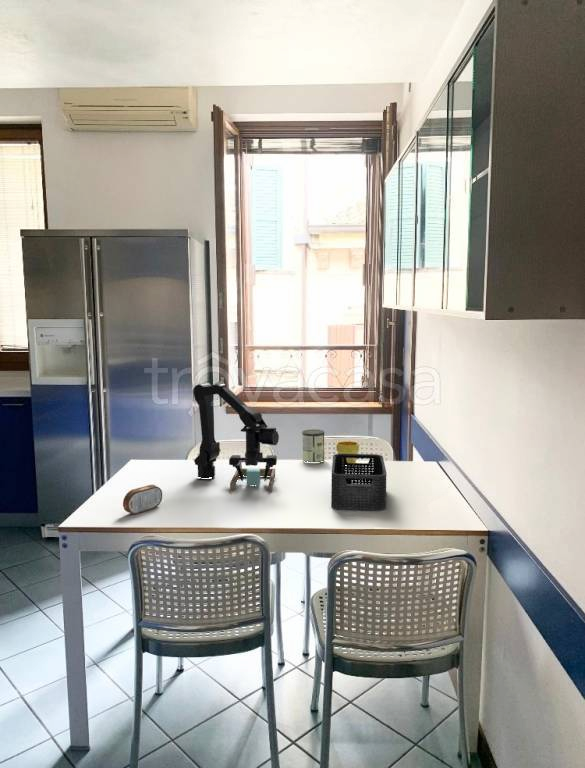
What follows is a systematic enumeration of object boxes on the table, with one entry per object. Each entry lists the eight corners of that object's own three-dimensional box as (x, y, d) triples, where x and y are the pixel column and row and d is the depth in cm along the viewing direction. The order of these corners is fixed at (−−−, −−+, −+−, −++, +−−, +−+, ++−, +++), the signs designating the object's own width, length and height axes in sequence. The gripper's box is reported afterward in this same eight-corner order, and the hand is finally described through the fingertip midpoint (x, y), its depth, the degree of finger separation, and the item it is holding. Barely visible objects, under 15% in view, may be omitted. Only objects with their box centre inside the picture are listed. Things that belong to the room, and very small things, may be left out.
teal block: (246, 486, 226) (246, 471, 225) (248, 482, 231) (247, 468, 230) (259, 486, 226) (259, 471, 225) (260, 482, 231) (260, 468, 230)
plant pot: (331, 464, 258) (331, 443, 257) (344, 460, 266) (344, 439, 265) (350, 468, 251) (350, 446, 250) (363, 463, 259) (363, 442, 258)
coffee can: (309, 457, 271) (309, 428, 270) (328, 460, 266) (328, 430, 264) (298, 462, 263) (298, 432, 261) (317, 465, 257) (317, 434, 256)
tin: (158, 504, 205) (158, 481, 204) (164, 506, 203) (163, 483, 202) (122, 515, 193) (121, 491, 192) (128, 517, 191) (127, 493, 190)
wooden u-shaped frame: (230, 491, 219) (230, 482, 218) (237, 476, 240) (237, 468, 239) (271, 492, 218) (271, 483, 218) (275, 476, 239) (275, 468, 239)
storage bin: (386, 512, 196) (387, 474, 194) (330, 510, 198) (330, 473, 196) (381, 487, 224) (382, 454, 223) (333, 486, 226) (333, 453, 225)
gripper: (226, 447, 219) (227, 486, 221) (274, 447, 218) (275, 487, 220) (230, 441, 230) (231, 478, 232) (276, 441, 229) (277, 478, 231)
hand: (253, 481), depth 228 cm, fingers open, 9 cm apart
